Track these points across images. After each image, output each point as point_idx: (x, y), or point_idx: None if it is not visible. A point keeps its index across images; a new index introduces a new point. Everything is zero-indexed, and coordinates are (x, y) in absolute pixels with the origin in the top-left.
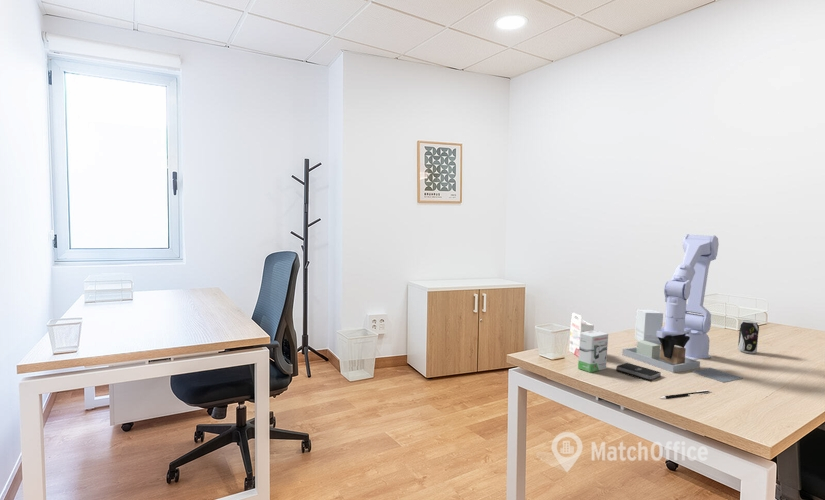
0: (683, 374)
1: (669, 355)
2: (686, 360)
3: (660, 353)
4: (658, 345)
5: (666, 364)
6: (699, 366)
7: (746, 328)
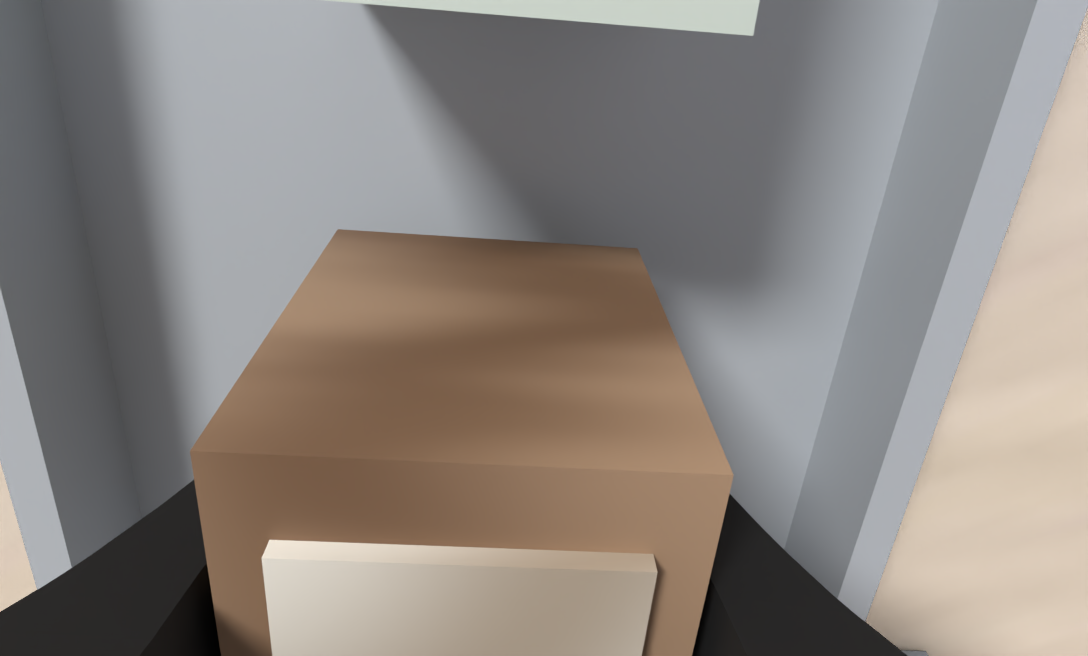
0: None
1: None
2: (840, 489)
3: (300, 296)
4: (635, 22)
5: (46, 571)
6: None
7: None
